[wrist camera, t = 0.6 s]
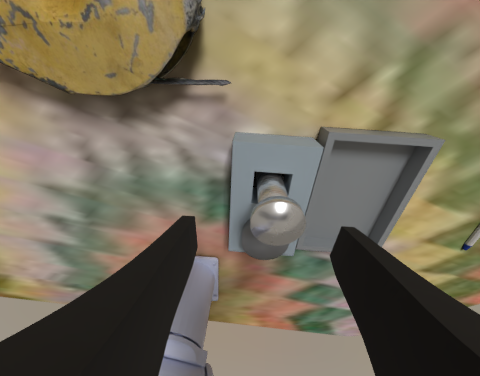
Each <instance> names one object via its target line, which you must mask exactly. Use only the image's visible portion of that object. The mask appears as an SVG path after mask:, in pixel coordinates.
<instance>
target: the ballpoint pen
mask: <svg viewBox="0 0 480 376" xmlns="http://www.w3.org/2000/svg"><path fill="white" fill-rule="evenodd" d="M479 237H480V224H479V226H478V227H477V228H476V230H475V231H474V232H473V233H472V235H471V236H470V237H469V238H468V240H467V241H466V242H465V244H464V246H463V248H462V249H464V250H467V249H469V248H470V247H472V246H473V245H474V243H475V242H476V241H477V240H478V239H479Z"/></svg>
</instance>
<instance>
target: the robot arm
mask: <svg viewBox="0 0 480 376" xmlns="http://www.w3.org/2000/svg"><path fill="white" fill-rule="evenodd" d="M196 251H197V235H196V224H195V216H182V217H181V218H179V219H178V220H177V221H176V222H175V223H174V224H173V225H172V226H171V227H170V228H169V229H168V230H167V231H165V232H164V233H163V234H162V235H161V236H160V237H159V238H158V239H157V240H156V241H154V242H153V243H152V244H151V245H150V246H149V247H148V248H146V249H145V250H144V251H143V252H141V253H140V254H139V255H138V256H137V257H135V258H134V259H133V260H132V261H130V262H129V263H128V264H126V265H125V266H124V267H123V268H121V269H120V270H119V271H117V272H116V273H114V274H113V275H111V276H110V277H109V278H107V279H106V280H104V281H103V282H101V283H100V284H98V285H97V286H95V287H94V288H92V289H91V290H89V291H87V292H86V293H84V294H83V295H81V296H80V297H78V298H76V299H75V300H73V301H72V302H70V303H69V304H67V305H65V306H64V307H62V308H60V309H58V310H57V311H55V312H53V313H52V314H50V315H48V316H46V317H45V318H43V319H41V320H40V321H38V322H36V323H34V324H32V325H30V326H29V327H27V328H25V329H23V330H21V331H20V332H18V333H16V334H14V335H12V336H10V337H9V338H7V339H5V340H3V341H1V342H0V376H214V375H213V372H212V368H211V366H210V364H208V363H206V359H207V351H205V350H203V345H204V339H205V334H206V328H207V323H208V317H209V312H210V306H211V301H217V300H218V259H217V258H215V257H204V256H195V255H196ZM330 258H331V262H332V265H333V269H334V272H335V275H336V278H337V280H338V282H339V285H340V287H341V289H342V292H343V294H344V296H345V298H346V301H347V303H348V305H349V307H350V310H351V312H352V314H353V316H354V319H355V321H356V323H357V325H358V328H359V330H360V333H361V335H362V338H363V340H364V343H365V346H366V349H367V352H368V355H369V358H370V361H371V364H372V367H373V370H374V373H375V376H480V315H479V314H478V313H476V312H474V311H473V310H471V309H470V308H468V307H467V306H465V305H463V304H462V303H460V302H459V301H457V300H455V299H454V298H452V297H451V296H449V295H448V294H446V293H445V292H443V291H442V290H440V289H439V288H437V287H436V286H434V285H433V284H431V283H430V282H428V281H427V280H425V279H424V278H423V277H421V276H420V275H418V274H417V273H415V272H414V271H413V270H411V269H410V268H409V267H407V266H406V265H404V264H403V263H402V262H400V261H399V260H398V259H396V258H395V257H394V256H392V255H391V254H390V253H388V252H387V251H386V250H384V249H383V248H382V247H381V246H379V245H378V244H377V243H375V242H374V241H373V240H371V239H370V238H369V237H367V236H366V235H365V234H363V233H362V232H361V231H359V230H358V229H356V228H355V227H345V226H341V229H340V231H339V234H338V236H337V239H336V241H335V244H334V246H333V249H332V251H331V254H330Z"/></svg>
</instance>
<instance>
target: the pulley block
mask: <svg viewBox="0 0 480 376" xmlns="http://www.w3.org/2000/svg"><path fill="white" fill-rule="evenodd" d="M201 1H202V0H0V63H2V64H5V65H7V66H9V67H12V68H14V69H16V70H18V71H21V72H23V73H25V74H27V75H30V76H32V77H34V78H36V79H38V80H41V81H43V82H45V83H47V84H49V85H52V86H54V87H56V88H58V89H60V90H63V91H65V92H67V93H69V94H88V95H100V96H115V95H123V94H125V93H128V92H131V91H134V90H136V89H139V88H143V87H146V86H148V85H150V84H186V85H221V86H223V85H227V84H230V83H231V82H229V81H227V80H191V79H185V78H166V79H165V78H163V77H164V76H166V75H167V74H168V73H170V72H171V71H172V70H173V69H174V68H175V67H176V66H177V64H178V63H179V62H180V61H181V60H182V58H183V56H184V55H185V53H186V51H187V50H188V48H189V46H190V45H191V42H192V38H193V35H194V33H195V32H196V31H197V30H198V27H199V24H200V20H201V19H202V18H203V17H204V14H205V8H204V10H203V8H202V6H201ZM200 14H201V15H200Z"/></svg>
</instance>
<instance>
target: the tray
mask: <svg viewBox="0 0 480 376" xmlns="http://www.w3.org/2000/svg"><path fill="white" fill-rule="evenodd" d="M317 142H318V143H319V144H320V145H321V146H323V147H324V149H323V152H322V156H321V160H320V163H319V167H318V170H317V174H316V177H315V181H314V184H313V188H312V191H311V195H310V198H309V202H308V205H307V209H306V213H305V218H306V228H305V230H304V232H303V234H302V235H301V236H300V237H299V238H298V241H297V244H296V249H299V250H312V251H324V252H331V251H332V249H333V246H334V244H335V241H336V239H337V236H338V234H339V231H340V229H341V226H345V227H355V228H356V229H358V230H359V231H361V232H362V233H363V234H365V235H366V236H367V237H369V238H370V239H371V240H373V241H374V242H375V243H377V244H378V245H379V246H381V247H382V246H383V244H384V242H385V241H386V239H387V237H388V236H389V234H390V232H391V231H392V229H393V227H394V226H395V224H396V222H397V221H398V219H399V217H400V216H401V214H402V212H403V210H404V209H405V207H406V205H407V204H408V202H409V200H410V199H411V197H412V195H413V194H414V192H415V190H416V189H417V187H418V185H419V184H420V182H421V180H422V179H423V177H424V175H425V174H426V172H427V170H428V168H429V167H430V165H431V163H432V162H433V160H434V158H435V157H436V155H437V153H438V152H439V150H440V148H441V147H442V145H443V143H444V142H445V140H444V139H440V138H437V137H434V136H430V135H427V134H420V133H405V132H391V131H377V130H362V129H348V128H333V127H321V129H320V133H319V137H318V141H317Z"/></svg>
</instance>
